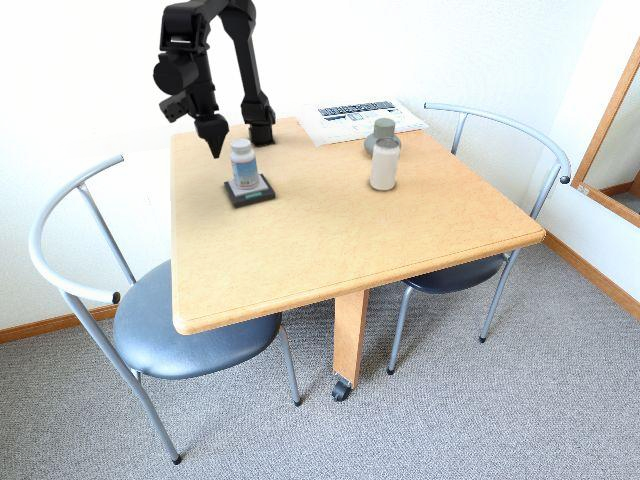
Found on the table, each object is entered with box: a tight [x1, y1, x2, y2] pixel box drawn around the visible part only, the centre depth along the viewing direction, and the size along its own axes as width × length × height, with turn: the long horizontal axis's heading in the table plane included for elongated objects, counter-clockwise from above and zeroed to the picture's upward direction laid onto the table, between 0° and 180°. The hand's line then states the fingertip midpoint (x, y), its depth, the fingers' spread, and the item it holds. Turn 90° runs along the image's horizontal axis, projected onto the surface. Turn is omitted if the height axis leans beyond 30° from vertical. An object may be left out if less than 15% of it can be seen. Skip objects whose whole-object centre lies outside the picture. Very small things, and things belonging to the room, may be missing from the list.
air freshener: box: [363, 117, 402, 157], centre depth 107 cm, size 11×8×10 cm
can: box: [369, 138, 401, 192], centre depth 93 cm, size 6×6×12 cm
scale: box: [223, 173, 276, 209], centre depth 94 cm, size 10×10×2 cm
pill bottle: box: [229, 138, 259, 189], centre depth 90 cm, size 6×6×11 cm
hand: (212, 149), depth 84 cm, fingers open, 9 cm apart
